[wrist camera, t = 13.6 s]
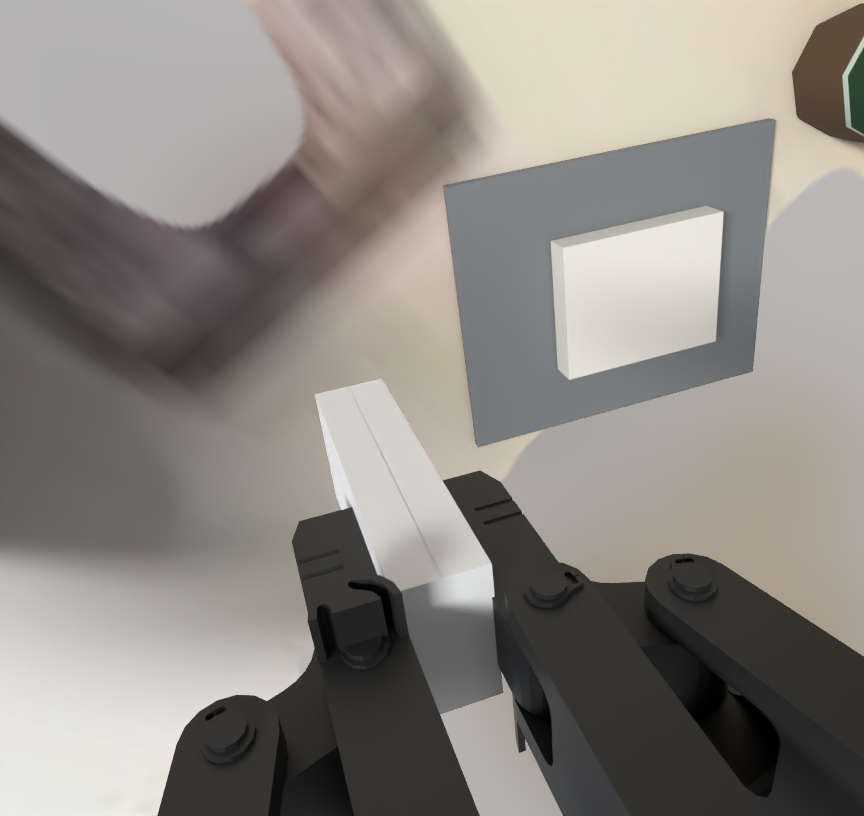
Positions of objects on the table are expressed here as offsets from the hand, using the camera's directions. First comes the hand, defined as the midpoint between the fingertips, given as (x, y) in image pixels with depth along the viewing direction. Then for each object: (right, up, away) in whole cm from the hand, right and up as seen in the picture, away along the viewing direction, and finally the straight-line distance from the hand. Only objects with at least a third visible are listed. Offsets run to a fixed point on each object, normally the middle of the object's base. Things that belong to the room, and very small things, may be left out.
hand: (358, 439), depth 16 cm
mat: (+14, +9, +33) cm, 37 cm away
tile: (+10, +7, +31) cm, 33 cm away
